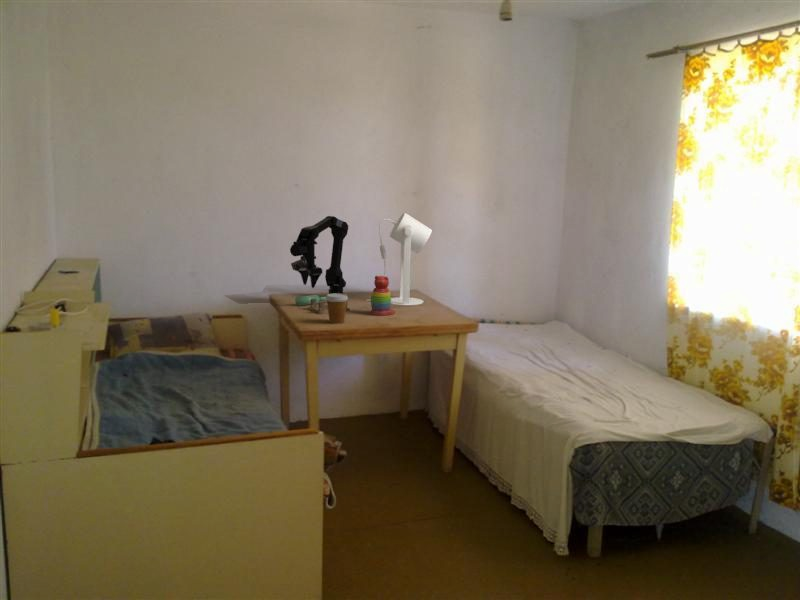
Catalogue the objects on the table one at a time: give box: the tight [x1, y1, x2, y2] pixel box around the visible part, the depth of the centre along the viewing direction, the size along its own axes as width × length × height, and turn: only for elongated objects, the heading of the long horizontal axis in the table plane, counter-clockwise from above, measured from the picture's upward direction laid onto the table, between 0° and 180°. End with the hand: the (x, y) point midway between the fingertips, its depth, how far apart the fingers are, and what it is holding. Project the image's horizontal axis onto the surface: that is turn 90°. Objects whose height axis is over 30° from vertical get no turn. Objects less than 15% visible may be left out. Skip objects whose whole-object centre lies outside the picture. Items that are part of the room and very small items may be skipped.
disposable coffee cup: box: [325, 293, 349, 325], centre depth 283 cm, size 10×10×12 cm
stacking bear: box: [370, 275, 396, 317], centre depth 301 cm, size 11×10×18 cm
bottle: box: [294, 294, 327, 307], centre depth 320 cm, size 17×4×4 cm
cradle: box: [307, 299, 351, 315], centre depth 308 cm, size 16×12×5 cm
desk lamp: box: [366, 212, 433, 306], centre depth 327 cm, size 21×32×45 cm, turn 95°
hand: (308, 286), depth 316 cm, fingers open, 9 cm apart
